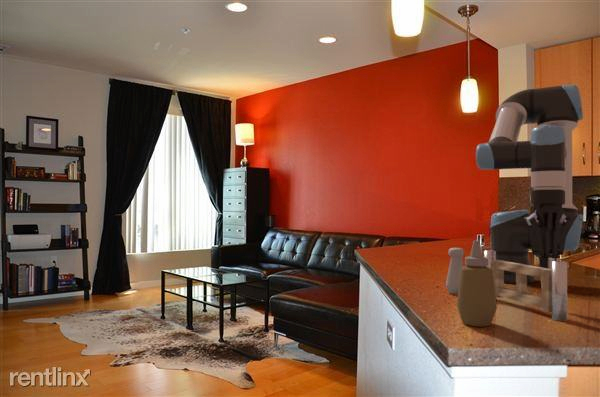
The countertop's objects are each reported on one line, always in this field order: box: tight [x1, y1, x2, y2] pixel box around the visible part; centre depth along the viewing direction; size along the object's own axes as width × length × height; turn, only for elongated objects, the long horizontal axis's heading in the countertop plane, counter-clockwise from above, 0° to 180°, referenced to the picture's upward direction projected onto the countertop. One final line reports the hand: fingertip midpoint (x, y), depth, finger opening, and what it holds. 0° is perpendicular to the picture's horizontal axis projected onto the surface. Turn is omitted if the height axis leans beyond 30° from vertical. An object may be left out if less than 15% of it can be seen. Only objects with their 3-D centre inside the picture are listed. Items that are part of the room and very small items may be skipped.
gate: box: [492, 260, 552, 313], centre depth 112 cm, size 18×2×10 cm, turn 18°
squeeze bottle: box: [456, 240, 497, 328], centre depth 98 cm, size 8×8×18 cm
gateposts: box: [483, 249, 568, 322], centre depth 112 cm, size 25×3×13 cm, turn 18°
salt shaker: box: [445, 247, 465, 296], centre depth 129 cm, size 6×6×13 cm
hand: (547, 284), depth 112 cm, fingers closed
